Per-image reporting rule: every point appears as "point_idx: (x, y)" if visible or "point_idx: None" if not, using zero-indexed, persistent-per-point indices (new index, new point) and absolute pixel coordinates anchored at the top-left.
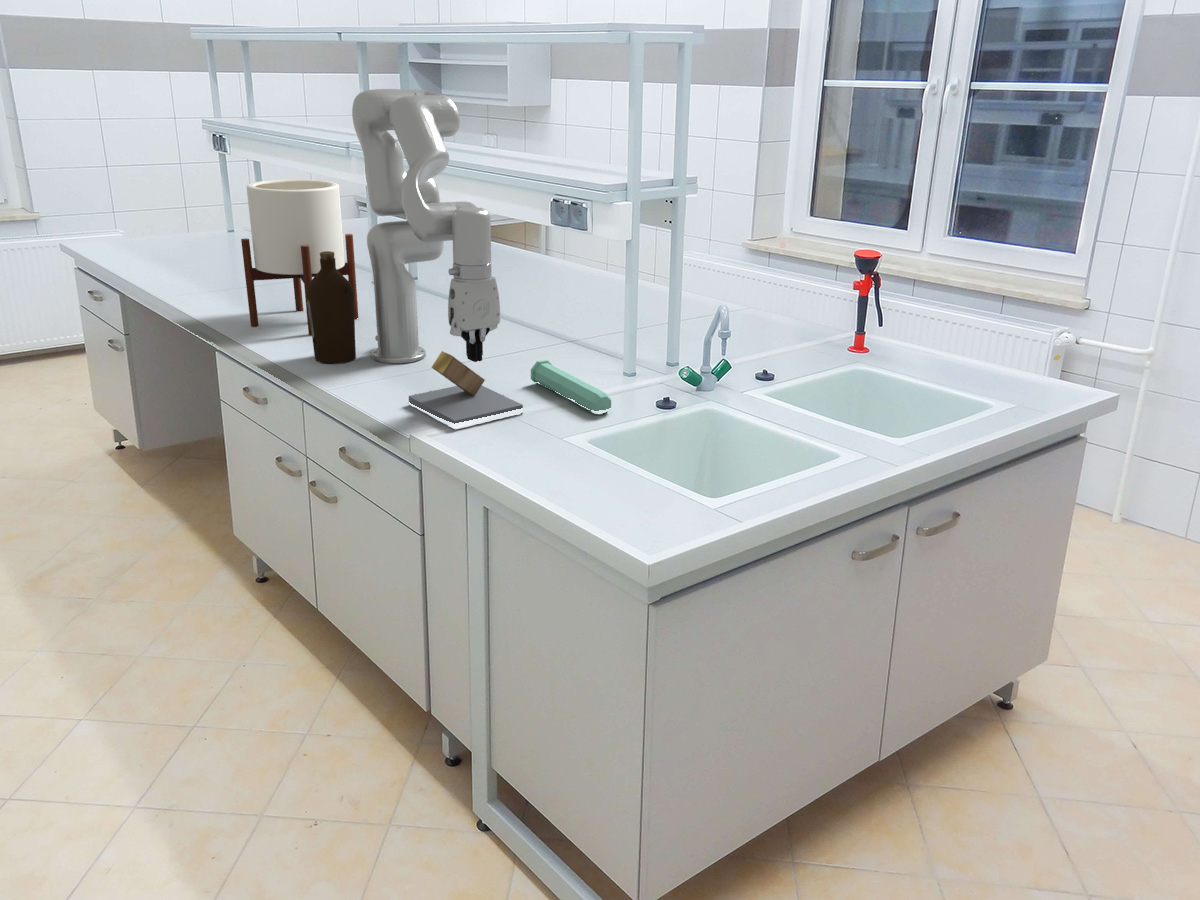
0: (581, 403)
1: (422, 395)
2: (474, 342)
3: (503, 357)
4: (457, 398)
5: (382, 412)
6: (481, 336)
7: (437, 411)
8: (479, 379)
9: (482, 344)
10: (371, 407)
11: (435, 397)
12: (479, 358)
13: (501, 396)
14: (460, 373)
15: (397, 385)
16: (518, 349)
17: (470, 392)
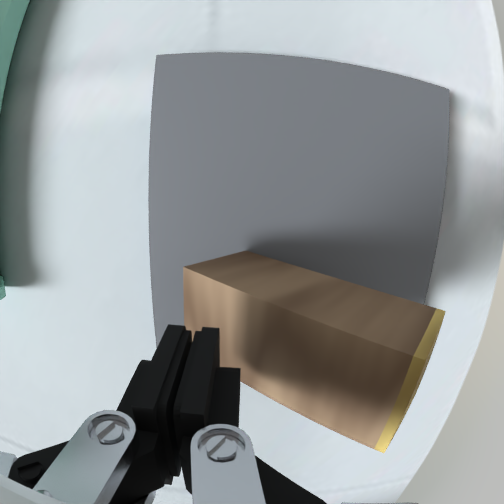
0: (19, 19)
1: None
2: (206, 428)
3: (30, 444)
4: (314, 268)
5: (462, 341)
6: (112, 451)
7: (443, 198)
8: (213, 272)
9: (120, 404)
10: (450, 380)
11: None
12: (184, 335)
13: (160, 183)
14: (332, 299)
15: (309, 465)
16: (3, 444)
17: (265, 258)
